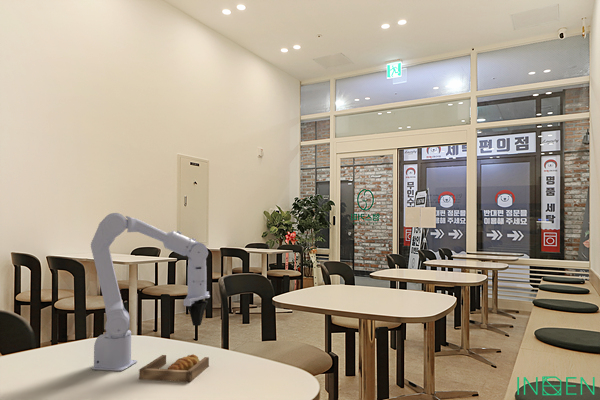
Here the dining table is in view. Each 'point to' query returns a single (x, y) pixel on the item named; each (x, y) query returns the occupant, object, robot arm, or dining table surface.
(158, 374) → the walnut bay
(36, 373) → the dining table surface
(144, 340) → the dining table surface
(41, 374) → the dining table surface
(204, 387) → the dining table surface
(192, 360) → the pastry
